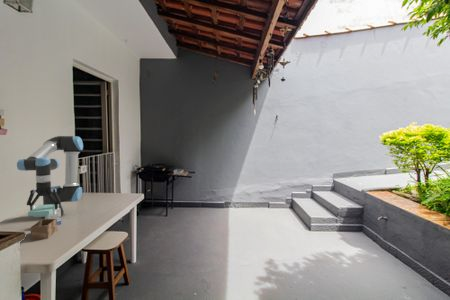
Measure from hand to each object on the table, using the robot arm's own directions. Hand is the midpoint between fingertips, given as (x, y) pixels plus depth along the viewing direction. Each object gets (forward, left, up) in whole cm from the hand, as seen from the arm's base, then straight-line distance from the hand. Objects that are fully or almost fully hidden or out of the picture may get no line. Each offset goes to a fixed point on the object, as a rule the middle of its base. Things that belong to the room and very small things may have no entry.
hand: (44, 214), depth 154 cm
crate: (0, 0, -13) cm, 13 cm away
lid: (0, 0, +1) cm, 1 cm away
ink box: (-18, -2, -13) cm, 22 cm away
